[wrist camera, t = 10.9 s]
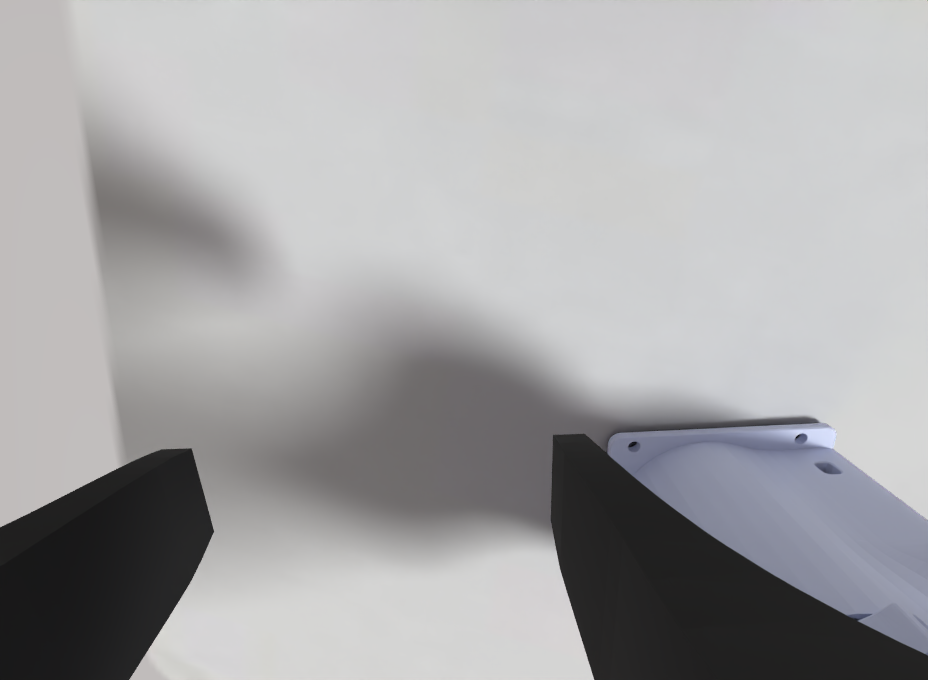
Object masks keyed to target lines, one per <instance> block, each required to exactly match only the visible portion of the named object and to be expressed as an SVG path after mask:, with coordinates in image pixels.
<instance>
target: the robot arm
mask: <svg viewBox="0 0 928 680" xmlns="http://www.w3.org/2000/svg"><path fill="white" fill-rule="evenodd" d="M799 434H801V435H800V436H799V437H798V438H797V439H795V438H796V436H797V435H799ZM835 440H836V431H835V429H834V428H832V427H831V426H829V425H828V424H826V423H811V424H790V425H770V426H749V427H729V428H708V429H688V430H668V431H647V432H627V433H617V434H615V435H613V436H612V437H611V438H610V439H609V442H608V452H607V453H606V452H605V451H603V450H602V449H601V448H600V447H599V446H598V445H597V444H596V443H594V442H593V441H592V440H591V439H590V438H589V437H587V436H586V435H585V434H569V435H553V462H552V499H551V523H552V528H553V534H554V539H555V545H556V550H557V555H558V560H559V565H560V570H561V573H562V576H563V580H564V583H565V586H566V590H567V593H568V596H569V599H570V603H571V606H572V609H573V612H574V616H575V619H576V622H577V625H578V629H579V632H580V635H581V638H582V641H583V645H584V648H585V651H586V654H587V657H588V661H589V664H590V667H591V670H592V674H593V677H594V680H928V520H927V519H925V518H924V517H923V516H921V515H920V514H919V513H917V512H916V511H915V510H914V509H912V508H911V507H910V506H908V505H907V504H906V503H904V502H903V501H902V500H900V499H899V498H898V497H896V496H895V495H894V494H892V493H891V492H890V491H888V490H887V489H886V488H884V487H883V486H882V485H880V484H879V483H878V482H876V481H875V480H874V479H872V478H871V477H870V476H868V475H867V474H866V473H864V472H863V471H862V470H860V469H859V468H858V467H856V466H855V465H854V464H852V463H851V462H850V461H848V460H847V459H846V458H844V457H843V456H842V455H840V454H839V453H838V452H836V451H835V450H834V449H833V448H834V444H835ZM634 441H635V442H637V443H636V445H635V446H633V447H628V445H629V444H630V443H631V442H634ZM213 533H214V530H213V526H212V522H211V519H210V515H209V511H208V507H207V504H206V500H205V496H204V493H203V489H202V485H201V482H200V478H199V474H198V471H197V467H196V463H195V460H194V456H193V452H192V448H191V449H164V450H159V451H156V452H154V453H151V454H149V455H146V456H144V457H142V458H139V459H137V460H135V461H133V462H131V463H129V464H127V465H124V466H122V467H120V468H118V469H116V470H114V471H112V472H110V473H108V474H106V475H104V476H102V477H100V478H98V479H96V480H94V481H92V482H90V483H88V484H86V485H84V486H83V487H80V488H79V489H76V490H75V491H73V492H71V493H69V494H67V495H65V496H63V497H61V498H59V499H57V500H55V501H53V502H51V503H49V504H47V505H45V506H43V507H41V508H39V509H37V510H35V511H33V512H31V513H30V514H27V515H25V516H23V517H21V518H19V519H17V520H15V521H13V522H11V523H9V524H6V525H4V526H2V527H0V680H129V679H130V677H131V676H132V674H133V673H134V671H135V670H136V668H137V667H138V665H139V663H140V662H141V660H142V659H143V657H144V656H145V654H146V652H147V651H148V649H149V648H150V646H151V645H152V643H153V641H154V640H155V638H156V637H157V635H158V634H159V632H160V630H161V629H162V627H163V626H164V624H165V623H166V621H167V619H168V618H169V616H170V614H171V613H172V611H173V610H174V608H175V606H176V605H177V603H178V602H179V600H180V598H181V597H182V595H183V594H184V592H185V590H186V589H187V587H188V585H189V584H190V582H191V580H192V578H193V576H194V574H195V572H196V570H197V568H198V566H199V564H200V562H201V560H202V558H203V555H204V553H205V551H206V549H207V546H208V544H209V542H210V539H211V537H212V535H213Z"/></svg>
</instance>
